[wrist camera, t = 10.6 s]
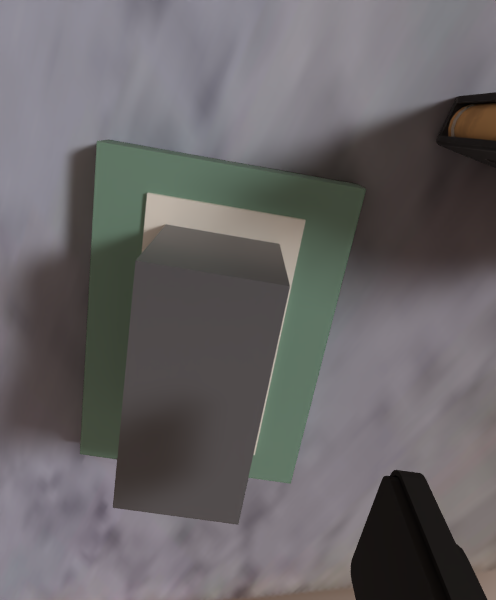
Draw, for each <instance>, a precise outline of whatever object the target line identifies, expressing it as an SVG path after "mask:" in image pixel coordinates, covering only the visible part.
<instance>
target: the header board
mask: <svg viewBox="0 0 496 600" xmlns="http://www.w3.org/2000/svg"><path fill="white" fill-rule="evenodd" d="M365 191H366V189H365V188H363V187H361V186H360V185H358V184H354V183H348V182H342V181H337V180H331V179H326V178H320V177H314V176H309V175H303V174H298V173H292V172H286V171H281V170H275V169H270V168H264V167H258V166H253V165H247V164H242V163H236V162H230V161H225V160H219V159H214V158H208V157H202V156H197V155H191V154H186V153H180V152H174V151H169V150H163V149H158V148H152V147H146V146H141V145H135V144H130V143H124V142H118V141H113V140H102V141H97V148H96V167H95V185H94V204H93V222H92V241H91V259H90V277H89V296H88V314H87V333H86V351H85V370H84V388H83V407H82V425H81V444H80V454H83V455H90V456H97V457H104V458H112V459H117V457H118V446H119V435H120V424H121V414H122V403H123V392H124V381H125V370H126V359H127V348H128V337H129V327H130V316H131V305H132V294H133V283H134V272H135V261H136V259H137V258H138V257H139V256H140V255H141V253H142V252H143V251H144V250H145V249H146V247H147V246H148V245H149V244H150V243H151V241H152V240H153V239H154V238H155V237H156V235H157V234H158V233H159V232H160V231H161V229H162V228H163V227H164V226H165V224H167V225H173V226H179V227H184V228H190V229H196V230H202V231H208V232H213V233H219V234H225V235H231V236H237V237H243V238H248V239H254V240H260V241H266V242H272V243H278V244H280V248H281V252H282V256H283V260H284V264H285V268H286V272H287V276H288V280H289V284H290V289H289V293H288V298H287V303H286V307H285V312H284V316H283V321H282V326H281V330H280V335H279V339H278V344H277V349H276V353H275V358H274V362H273V367H272V372H271V376H270V381H269V385H268V390H267V394H266V399H265V404H264V408H263V413H262V417H261V422H260V427H259V431H258V436H257V440H256V445H255V450H254V454H253V459H252V463H251V468H250V472H249V477H248V478H255V479H262V480H269V481H276V482H283V483H290V484H291V480H292V476H293V472H294V468H295V464H296V460H297V456H298V453H299V449H300V445H301V441H302V437H303V433H304V429H305V425H306V421H307V418H308V414H309V410H310V406H311V402H312V398H313V394H314V390H315V386H316V382H317V379H318V375H319V371H320V367H321V363H322V359H323V355H324V351H325V347H326V343H327V340H328V336H329V332H330V328H331V324H332V320H333V316H334V312H335V308H336V304H337V301H338V297H339V293H340V289H341V285H342V281H343V277H344V273H345V269H346V265H347V262H348V258H349V254H350V250H351V246H352V242H353V238H354V234H355V230H356V226H357V223H358V219H359V215H360V211H361V207H362V203H363V199H364V195H365Z"/></svg>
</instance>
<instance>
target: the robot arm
mask: <svg viewBox="0 0 496 600" xmlns="http://www.w3.org/2000/svg"><path fill="white" fill-rule="evenodd" d="M351 579H352V584H353V589H354V593H355V598H356V600H487V598H486V596H485V594H484V592H483V590H482V587H481V585H480V583H479V581H478V579H477V577H476V575H475V573H474V571H473V568H472V566H471V564H470V562H469V560H468V558H467V556H466V554H465V553H464V551H463V550H462V548H460V547H459V546H458V545H457V544H456V543H455V541H454V539H453V537H452V535H451V532H450V530H449V528H448V526H447V524H446V522H445V519H444V517H443V515H442V513H441V511H440V509H439V507H438V504H437V502H436V500H435V498H434V496H433V494H432V491H431V489H430V487H429V485H428V483H427V481H426V479H425V477H424V476H423V475H422V474H421V473H415V472H407V471H400V470H394V471H393V472H392V473H391V475H390V476H384V477H383V479H382V481H381V484H380V486H379V489H378V492H377V494H376V497H375V500H374V502H373V505H372V508H371V510H370V513H369V516H368V518H367V521H366V524H365V526H364V529H363V532H362V534H361V537H360V540H359V542H358V545H357V548H356V550H355V553H354V556H353V558H352V562H351Z"/></svg>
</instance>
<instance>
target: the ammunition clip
mask: <svg viewBox="0 0 496 600" xmlns="http://www.w3.org/2000/svg"><path fill="white" fill-rule="evenodd" d="M437 143H438V145H440V146H443V147H445V148H448V149H450V150H453V151H455V152H457V153H460V154H462V155H465V156H467V157H470V158H472V159H475V160H477V161H480V162H482V163H485V164H487V165H490V166H492V167H495V168H496V93H486V94H476V95H466V96H459V97H457V99H456V101H455V103H454V105H453V107H452V109H451V111H450V113H449V115H448V118H447V120H446V122H445V124H444V126H443V128H442V130H441V132H440V134H439V136H438V138H437Z"/></svg>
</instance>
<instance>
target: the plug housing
mask: <svg viewBox="0 0 496 600" xmlns="http://www.w3.org/2000/svg"><path fill="white" fill-rule="evenodd" d="M289 289H290V284H289V280H288V276H287V272H286V268H285V264H284V260H283V256H282V252H281V248H280V244H278V243H272V242H266V241H260V240H254V239H248V238H243V237H237V236H231V235H225V234H219V233H213V232H208V231H202V230H196V229H190V228H184V227H179V226H173V225H167V224H165V226H164V227H163V228H162V229H161V231H160V232H159V233H158V234H157V235H156V237H155V238H154V239H153V240H152V241H151V243H150V244H149V245H148V246H147V247H146V249H145V250H144V251H143V252H142V253H141V255H140V256H139V257H138V258H137V259H136V261H135V272H134V283H133V294H132V305H131V316H130V327H129V337H128V348H127V359H126V370H125V381H124V392H123V403H122V414H121V424H120V435H119V446H118V457H117V468H116V479H115V490H114V501H113V508H120V509H127V510H134V511H142V512H149V513H156V514H164V515H171V516H179V517H186V518H193V519H201V520H208V521H216V522H223V523H230V524H238V523H239V518H240V514H241V509H242V505H243V500H244V495H245V491H246V486H247V482H248V477H249V472H250V468H251V463H252V459H253V454H254V450H255V445H256V440H257V436H258V431H259V427H260V422H261V417H262V413H263V408H264V404H265V399H266V394H267V390H268V385H269V381H270V376H271V372H272V367H273V362H274V358H275V353H276V349H277V344H278V339H279V335H280V330H281V326H282V321H283V316H284V312H285V307H286V303H287V298H288V293H289Z"/></svg>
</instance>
